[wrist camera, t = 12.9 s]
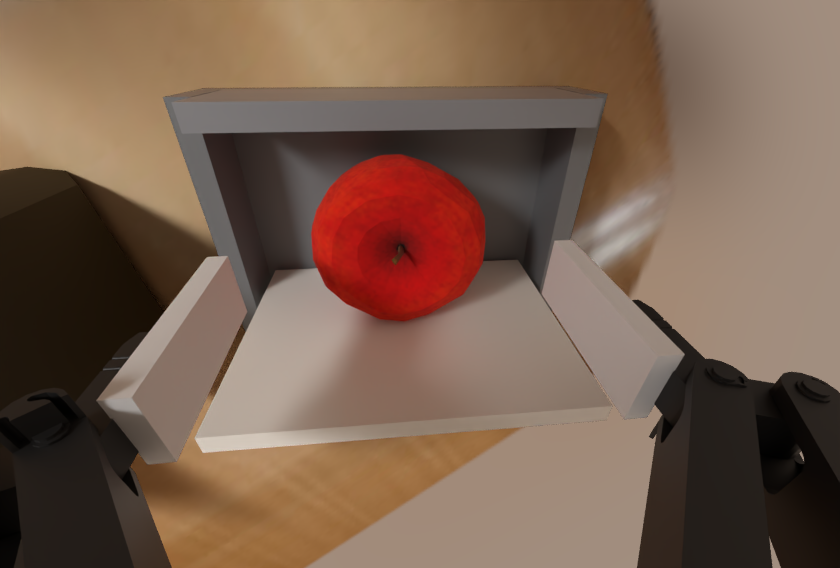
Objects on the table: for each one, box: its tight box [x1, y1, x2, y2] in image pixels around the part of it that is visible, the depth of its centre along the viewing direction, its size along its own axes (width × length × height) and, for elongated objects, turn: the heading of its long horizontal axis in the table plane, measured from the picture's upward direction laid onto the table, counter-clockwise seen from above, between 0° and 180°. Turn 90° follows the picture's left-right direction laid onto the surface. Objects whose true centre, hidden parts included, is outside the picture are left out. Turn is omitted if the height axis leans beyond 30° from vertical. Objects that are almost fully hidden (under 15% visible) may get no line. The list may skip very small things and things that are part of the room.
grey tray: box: [163, 86, 607, 333], centre depth 23 cm, size 20×21×7 cm
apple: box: [311, 154, 485, 321], centre depth 20 cm, size 9×9×8 cm
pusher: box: [195, 260, 612, 453], centre depth 22 cm, size 6×17×13 cm, turn 90°
